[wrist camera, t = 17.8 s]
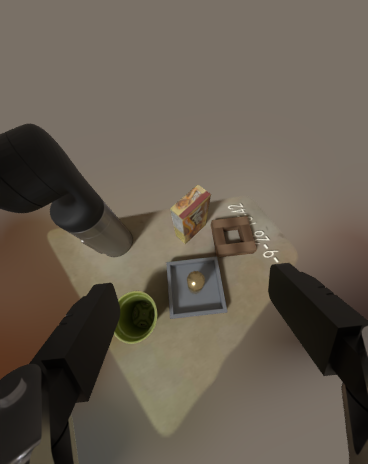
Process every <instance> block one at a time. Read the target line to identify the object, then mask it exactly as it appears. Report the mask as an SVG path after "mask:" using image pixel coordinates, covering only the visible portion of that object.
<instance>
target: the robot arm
mask: <svg viewBox="0 0 368 464" xmlns="http://www.w3.org/2000/svg"><path fill="white" fill-rule="evenodd" d="M51 202H52V204H51V208H50V215H51V218H52V220H53V221H54V223H55V224H56V225H58V226H59V227H60V228H62V229H64V230H66V231H67V232H69V233H71V234H72V235H74V236H76V237H77V238H79V239H81V242H82V243H83V244H85V245H87V246H89V247H90V248H92V249H94V250H95V251H97V252H99V253H101V254H102V253H104V254H106V255H107V256H110V257H118V256H121V255H123V254H125V253H126V252H127V251H128V250H129V249H130V247H131V245H132V235H131V233H130V232H129V230H128V229H127V228H126V227H125V226H124V224H123V223H122V222H121V221H120V220H119V219H118V217H117V216H116V215H115V214H114V213H113V212H112V210H111V209H110V208H109V207H108V206H107V205H106V204H105V202H104V201H103V200H102V199H101V198H100V196H99V195H98V194H97V193H96V192H95V190H94V189H93V188H92V187H91V186H90V185H89V184H88V182H87V181H86V180H85V179H84V177H83V176H82V175H81V173H80V172H79V171H78V170H77V168H76V167H75V165H74V164H73V163H72V161H71V160H70V159H69V157H68V156H67V154H66V153H65V152H64V151H63V149H62V148H61V147H60V146H59V145H58V143H57V142H56V141H55V140H54V139H53V138H52V137H51V136H50V135H49V134H48V133H47V132H46V131H45V130H43V129H42V128H40V127H39V126H36V125H34V124H25V125H22V126H19V127H16V128H14V129H12V130H9V131H7V132H5V133H2V134H0V209H3V210H6V211H10V212H15V213H29V212H32V211H35V210H38V209H40V208H42V207H44V206H46V205H48V204H49V203H51ZM268 292H269V297H270V299H271V301H272V303H273V304H274V306H275V307H276V309H277V310H278V312H279V313H280V314H281V316H282V317H283V319H284V320H285V321H286V323H287V324H288V326H289V327H290V328H291V330H292V331H293V333H294V334H295V336H296V337H297V339H298V340H299V341H300V343H301V344H302V346H303V347H304V349H305V350H306V351H307V353H308V354H309V356H310V357H311V359H312V360H313V361H314V363H315V364H316V365H317V367H318V369H319V370H320V371H321V372H322V374H323V376H328V375H338V377H339V378H340V379H341V380H342V382H343V383H342V386H341V390H342V399H343V408H344V416H345V425H346V434H347V442H348V451H349V464H368V320H366V319H365V318H364V317H363V316H361V315H360V314H359V313H358V312H357V311H355V310H354V309H353V308H352V307H350V306H349V305H347V303H345V302H344V301H343V300H342V299H340V298H339V297H338V296H337V295H334V294H333V292H332V291H330V290H329V289H328V288H325V286H324V285H323V284H322V283H321V282H319V281H318V280H317V279H316V278H314V277H312V276H310V275H308V274H305V273H303V272H299V271H298V270H297V269H296V268H295V267H294V266H292V265H291V264H290V263H282V264H274V265H271V267H270V276H269V288H268ZM119 319H120V305H119V302H118V299H117V295H116V292H115V289H114V286H113V284H112V283H104V284H96V285H94V286H93V287H92V288H91V290H90V291H89V293H88V294H87V296H83V297H82V298H81V299H80V300H79V301H78V302H76V303H75V304H74V305H73V306H72V307H71V309H70V310H69V311H68V313H67V314H66V317H64V318H63V320H62V321H61V322H60V324H59V326H57V327H56V329H55V330H54V331H53V333H52V334H51V335H50V337H49V338H48V340H47V341H46V342H45V344H44V345H43V346H42V347H41V349H40V350H39V351H38V353H37V354H36V355H35V357H34V358H33V359H32V361H31V362H30V363H29V364H28V365H24V366H22V367H19V368H17V369H15V370H13V371H12V372H10V373H9V374H7V375H6V376H4V377H3V378H2V379H1V380H0V464H79V463H78V456H77V449H76V441H75V434H74V427H73V420H72V416H71V412H72V410H73V408H74V406H75V403H78V402H88V401H89V398H90V396H91V393H92V390H93V388H94V385H95V382H96V380H97V377H98V374H99V372H100V369H101V366H102V364H103V361H104V359H105V356H106V353H107V351H108V348H109V345H110V343H111V340H112V337H113V335H114V332H115V329H116V327H117V324H118V321H119Z"/></svg>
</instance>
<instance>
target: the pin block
mask: <svg viewBox="0 0 368 464" xmlns="http://www.w3.org/2000/svg"><path fill="white" fill-rule="evenodd" d="M211 229H212V234H213V239H214V245H215V250H216V255H217V257H226V256H235V255H243V254H252V253H254V252H255V251H256V250H257V248H256V245H255V241H254V238H253V235H252V231H251V228H250V224H249V221H248V218H247V216H245V217H236V218H227V219H219V220H212V222H211ZM231 230H238V232H239V236H240V240H241V243H233V244H226V242H225V237H224V232H223V231H231Z"/></svg>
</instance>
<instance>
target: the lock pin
mask: <svg viewBox="0 0 368 464" xmlns="http://www.w3.org/2000/svg"><path fill="white" fill-rule="evenodd" d="M204 283H205V278H204V275H203V274H202V273H201V272H199V271H193V272H191V273H190V274H189V275H188V277H187V284H188V289H189V291H190V292H191V293H192V294H198V293H200V291H201V290H202V288H203V286H204Z"/></svg>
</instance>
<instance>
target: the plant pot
mask: <svg viewBox="0 0 368 464" xmlns="http://www.w3.org/2000/svg"><path fill="white" fill-rule="evenodd" d="M118 302H119V305H120V319H119V321H118V324H117V327H116V329H115V332H114V335H115V336H116V337H117V338H118V339H119V340H120V341H122V342H124V343H128V344H135V343H139V342H141V341H143V340H144V339H146V338H147V337H148V336H149V335H150V334H151V333H152V331H153V330H154V328H155V325H156V322H157V308H156V304H155V302H154V300H153V299H152V298H151V297H150V296H149V295H148V294H146V293H144V292H141V291H132V292H129V293H127V294H125V295H123V296H122V297H121V298H120V299H119V300H118ZM143 303H148V305H146V304H143ZM135 311H136V314H135V316H134V312H135ZM153 312H155V315H154V318H153ZM143 313H145V315H143ZM140 324H146V325H145V326H141V325H140Z"/></svg>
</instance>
